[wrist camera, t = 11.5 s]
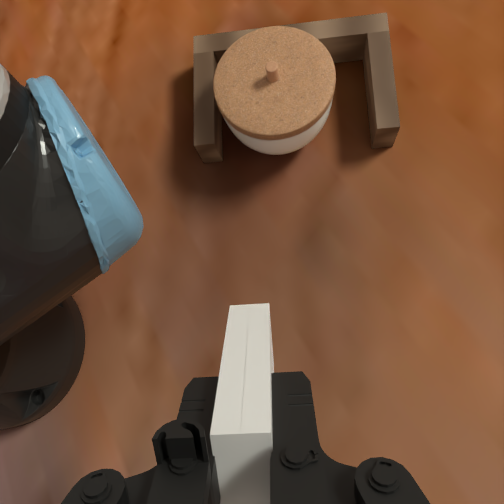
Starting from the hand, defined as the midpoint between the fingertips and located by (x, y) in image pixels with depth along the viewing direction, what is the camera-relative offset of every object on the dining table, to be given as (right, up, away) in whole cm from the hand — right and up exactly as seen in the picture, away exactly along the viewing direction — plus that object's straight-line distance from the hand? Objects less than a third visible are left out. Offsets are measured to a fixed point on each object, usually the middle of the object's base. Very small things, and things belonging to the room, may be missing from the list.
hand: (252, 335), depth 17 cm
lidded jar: (+3, +17, +29) cm, 33 cm away
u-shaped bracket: (+4, +20, +29) cm, 35 cm away
